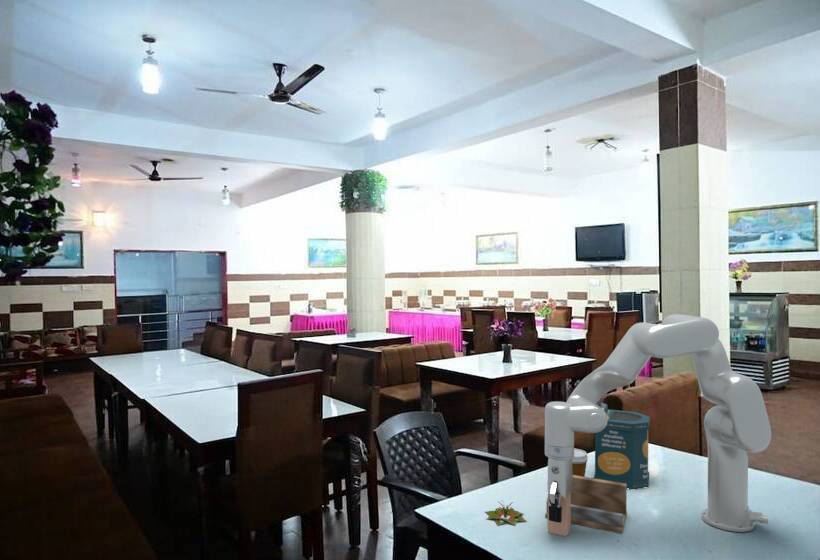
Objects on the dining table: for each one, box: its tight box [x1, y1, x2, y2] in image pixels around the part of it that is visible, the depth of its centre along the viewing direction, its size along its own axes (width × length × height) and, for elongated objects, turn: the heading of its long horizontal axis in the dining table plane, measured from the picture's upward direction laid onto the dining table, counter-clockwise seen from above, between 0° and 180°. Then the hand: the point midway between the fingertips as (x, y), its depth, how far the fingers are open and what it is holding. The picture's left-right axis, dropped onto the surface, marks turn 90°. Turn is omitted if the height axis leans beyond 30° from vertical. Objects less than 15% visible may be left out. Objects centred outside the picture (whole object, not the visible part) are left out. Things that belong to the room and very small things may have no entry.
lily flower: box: [485, 500, 527, 526], centre depth 151 cm, size 12×12×5 cm
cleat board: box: [544, 475, 628, 535], centre depth 152 cm, size 20×13×9 cm, turn 63°
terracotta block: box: [547, 492, 572, 537], centre depth 143 cm, size 5×5×10 cm
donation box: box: [593, 397, 650, 490], centre depth 179 cm, size 16×16×28 cm
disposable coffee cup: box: [572, 447, 589, 477], centre depth 170 cm, size 10×10×12 cm
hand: (559, 513), depth 143 cm, fingers open, 9 cm apart
